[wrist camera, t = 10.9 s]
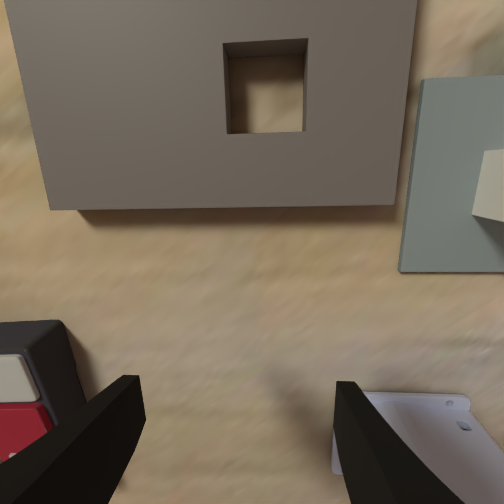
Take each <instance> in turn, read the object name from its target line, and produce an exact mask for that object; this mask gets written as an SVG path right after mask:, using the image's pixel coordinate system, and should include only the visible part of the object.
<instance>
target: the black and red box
mask: <svg viewBox="0 0 504 504" xmlns="http://www.w3.org/2000/svg"><path fill="white" fill-rule="evenodd" d="M85 404H86V400H85V398H84V395H83V392H82V389H81V387H80V384H79V381H78V378H77V375H76V363H75V359H74V356H73V353H72V349H71V346H70V343H69V340H68V336H67V333H66V330H65V327H64V324H63V323H62V322H61V321H60V320H39V321H19V322H0V464H1V463H2V462H4V461H6V460H7V459H9V458H10V457H12V456H13V455H15V454H17V453H18V452H20V451H21V450H23V449H24V448H26V447H27V446H29V445H30V444H31V443H33V442H34V441H36V440H37V439H39V438H40V437H41V436H43V435H44V434H45V433H47V432H48V431H50V430H51V429H52V428H54V427H55V426H57V425H58V424H59V423H61V422H62V421H64V420H65V419H66V418H68V417H69V416H70V415H72V414H73V413H74V412H76V411H77V410H78V409H79V408H81V407H82V406H83V405H85Z"/></svg>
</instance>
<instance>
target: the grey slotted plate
mask: <svg viewBox="0 0 504 504" xmlns="http://www.w3.org/2000/svg"><path fill="white" fill-rule="evenodd" d="M4 3H5V7H6V12H7V16H8V21H9V25H10V30H11V34H12V39H13V43H14V48H15V53H16V57H17V62H18V66H19V71H20V75H21V80H22V84H23V89H24V93H25V98H26V102H27V107H28V112H29V116H30V121H31V125H32V130H33V134H34V139H35V143H36V148H37V152H38V157H39V162H40V166H41V171H42V175H43V180H44V184H45V189H46V193H47V198H48V202H49V207H50V210H103V209H166V208H228V207H291V206H354V205H394V203H395V194H396V185H397V176H398V168H399V159H400V150H401V141H402V132H403V123H404V114H405V106H406V97H407V88H408V79H409V70H410V61H411V52H412V43H413V35H414V26H415V17H416V8H417V0H4ZM294 54H304V81H303V126H302V132H278V133H249V134H232V131H231V106H230V82H229V58H239V57H258V56H276V55H294Z"/></svg>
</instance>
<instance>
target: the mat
mask: <svg viewBox="0 0 504 504" xmlns="http://www.w3.org/2000/svg"><path fill="white" fill-rule="evenodd" d="M499 149H504V75H494V76H473V77H452V78H431V79H424V80H422V81H421V86H420V94H419V102H418V110H417V118H416V126H415V134H414V142H413V150H412V158H411V167H410V175H409V183H408V191H407V199H406V207H405V215H404V223H403V231H402V239H401V247H400V255H399V263H398V270H399V271H400V272H504V222H502V221H498V220H493V219H489V218H484V217H480V216H476V215H472V210H473V205H474V200H475V195H476V191H477V186H478V181H479V176H480V171H481V166H482V161H483V156H484V151H488V150H499Z"/></svg>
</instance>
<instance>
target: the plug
mask: <svg viewBox="0 0 504 504" xmlns="http://www.w3.org/2000/svg"><path fill="white" fill-rule="evenodd" d="M472 215H476V216H480V217H484V218H489V219H493V220H498V221H502V222H504V149H499V150H488V151H484V156H483V161H482V166H481V171H480V176H479V181H478V186H477V191H476V195H475V200H474V205H473V210H472Z"/></svg>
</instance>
